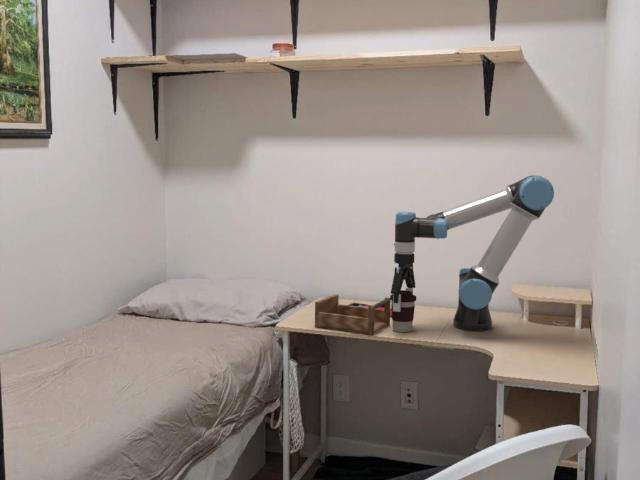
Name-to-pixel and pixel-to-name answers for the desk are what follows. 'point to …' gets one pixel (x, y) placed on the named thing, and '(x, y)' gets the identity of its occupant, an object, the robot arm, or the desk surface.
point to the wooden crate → (351, 316)
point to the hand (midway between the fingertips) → (402, 307)
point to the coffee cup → (404, 312)
